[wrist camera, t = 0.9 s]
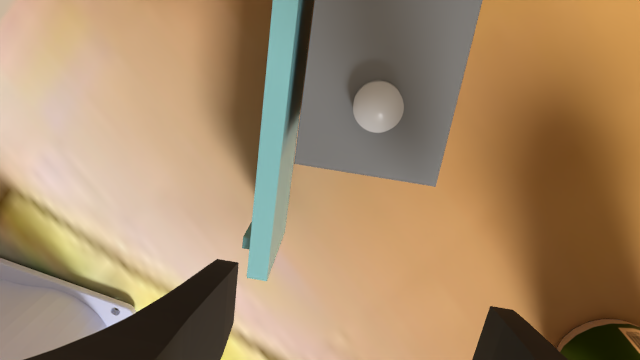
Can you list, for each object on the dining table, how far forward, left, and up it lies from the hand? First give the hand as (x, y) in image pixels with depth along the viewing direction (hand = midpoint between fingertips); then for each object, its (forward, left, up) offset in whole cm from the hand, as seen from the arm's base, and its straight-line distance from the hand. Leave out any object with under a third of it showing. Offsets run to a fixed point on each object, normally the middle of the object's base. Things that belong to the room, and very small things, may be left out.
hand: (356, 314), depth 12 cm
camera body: (-2, +8, -9) cm, 13 cm away
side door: (-4, +2, -9) cm, 10 cm away
